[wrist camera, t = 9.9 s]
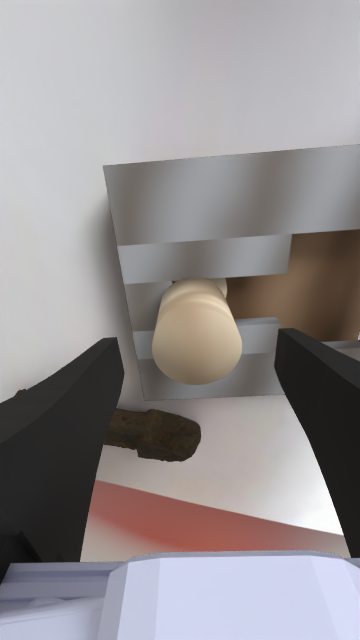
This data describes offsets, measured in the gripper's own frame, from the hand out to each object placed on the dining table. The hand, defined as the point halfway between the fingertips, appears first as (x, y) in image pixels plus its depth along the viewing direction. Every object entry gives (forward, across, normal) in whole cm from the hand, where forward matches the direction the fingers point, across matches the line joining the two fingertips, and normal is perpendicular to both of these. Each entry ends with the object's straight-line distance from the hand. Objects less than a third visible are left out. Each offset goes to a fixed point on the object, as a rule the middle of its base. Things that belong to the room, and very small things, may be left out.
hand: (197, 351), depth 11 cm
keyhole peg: (+9, 0, 0) cm, 9 cm away
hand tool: (+10, +9, +13) cm, 19 cm away
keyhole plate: (+10, -5, 0) cm, 11 cm away
